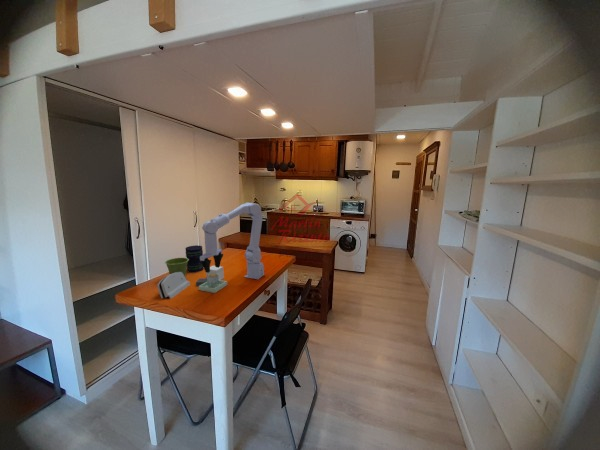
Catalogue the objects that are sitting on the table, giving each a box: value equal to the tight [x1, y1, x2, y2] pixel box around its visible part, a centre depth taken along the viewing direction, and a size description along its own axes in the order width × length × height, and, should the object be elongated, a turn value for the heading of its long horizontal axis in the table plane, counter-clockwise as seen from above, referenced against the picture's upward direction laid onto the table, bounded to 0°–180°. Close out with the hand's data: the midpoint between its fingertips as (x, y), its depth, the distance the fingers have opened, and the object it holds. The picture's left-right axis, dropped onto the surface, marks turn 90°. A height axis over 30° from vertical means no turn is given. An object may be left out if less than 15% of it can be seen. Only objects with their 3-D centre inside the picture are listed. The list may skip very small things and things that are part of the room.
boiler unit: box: [205, 264, 225, 281], centre depth 128 cm, size 8×6×7 cm
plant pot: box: [164, 257, 189, 278], centre depth 127 cm, size 12×12×11 cm
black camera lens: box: [184, 245, 205, 274], centre depth 142 cm, size 10×10×15 cm
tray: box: [198, 279, 228, 294], centre depth 118 cm, size 10×10×2 cm
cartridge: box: [206, 274, 219, 288], centre depth 118 cm, size 4×4×6 cm
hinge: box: [156, 272, 191, 300], centre depth 114 cm, size 17×5×10 cm, turn 175°
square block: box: [195, 277, 207, 287], centre depth 122 cm, size 5×5×2 cm
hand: (212, 269), depth 117 cm, fingers open, 7 cm apart
